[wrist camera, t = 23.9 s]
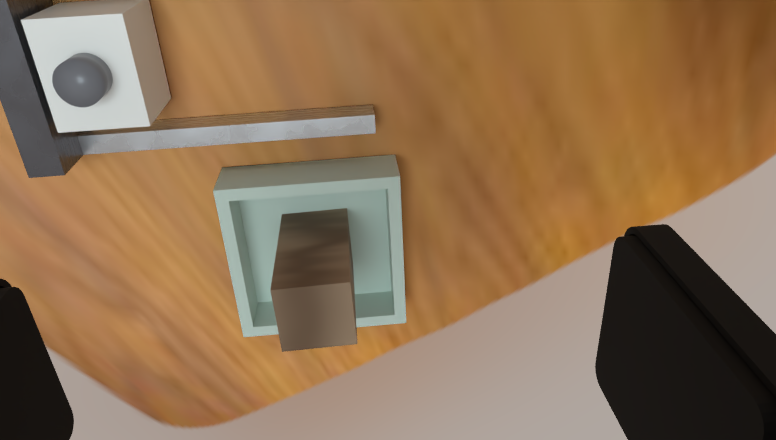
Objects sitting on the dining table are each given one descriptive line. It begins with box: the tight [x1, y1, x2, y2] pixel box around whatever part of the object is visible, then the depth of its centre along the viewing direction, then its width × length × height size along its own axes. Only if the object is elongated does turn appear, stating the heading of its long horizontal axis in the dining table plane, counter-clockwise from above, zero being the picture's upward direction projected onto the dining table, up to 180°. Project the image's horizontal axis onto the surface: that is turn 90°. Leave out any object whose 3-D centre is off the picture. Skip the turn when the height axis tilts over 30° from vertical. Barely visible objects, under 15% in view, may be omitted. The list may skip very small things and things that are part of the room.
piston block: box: [21, 0, 171, 133], centre depth 34 cm, size 5×6×7 cm
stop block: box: [270, 208, 357, 352], centre depth 39 cm, size 4×4×9 cm
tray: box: [213, 155, 406, 337], centre depth 42 cm, size 12×12×4 cm
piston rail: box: [0, 0, 376, 178], centre depth 35 cm, size 20×11×5 cm, turn 93°
